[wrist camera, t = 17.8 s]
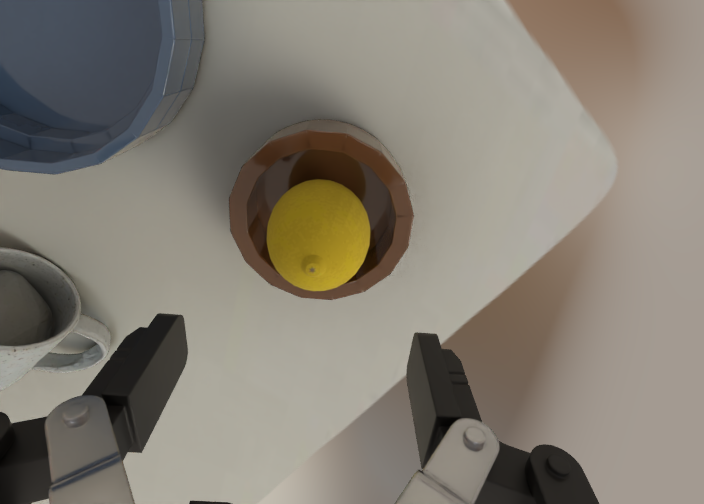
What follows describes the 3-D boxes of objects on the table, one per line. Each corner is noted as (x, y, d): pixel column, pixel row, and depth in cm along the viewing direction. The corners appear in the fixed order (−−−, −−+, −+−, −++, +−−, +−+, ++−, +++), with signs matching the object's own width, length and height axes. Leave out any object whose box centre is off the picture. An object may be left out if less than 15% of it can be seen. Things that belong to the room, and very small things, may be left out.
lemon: (325, 143, 23) (313, 188, 16) (385, 209, 25) (398, 275, 18) (261, 202, 25) (226, 266, 18) (322, 260, 27) (311, 338, 20)
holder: (246, 264, 28) (233, 292, 25) (241, 110, 23) (224, 121, 20) (392, 276, 29) (397, 305, 26) (417, 128, 24) (427, 141, 21)
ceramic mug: (-47, 297, 30) (-164, 376, 23) (0, 227, 27) (-116, 292, 20) (86, 372, 33) (20, 459, 26) (140, 317, 31) (81, 398, 24)
